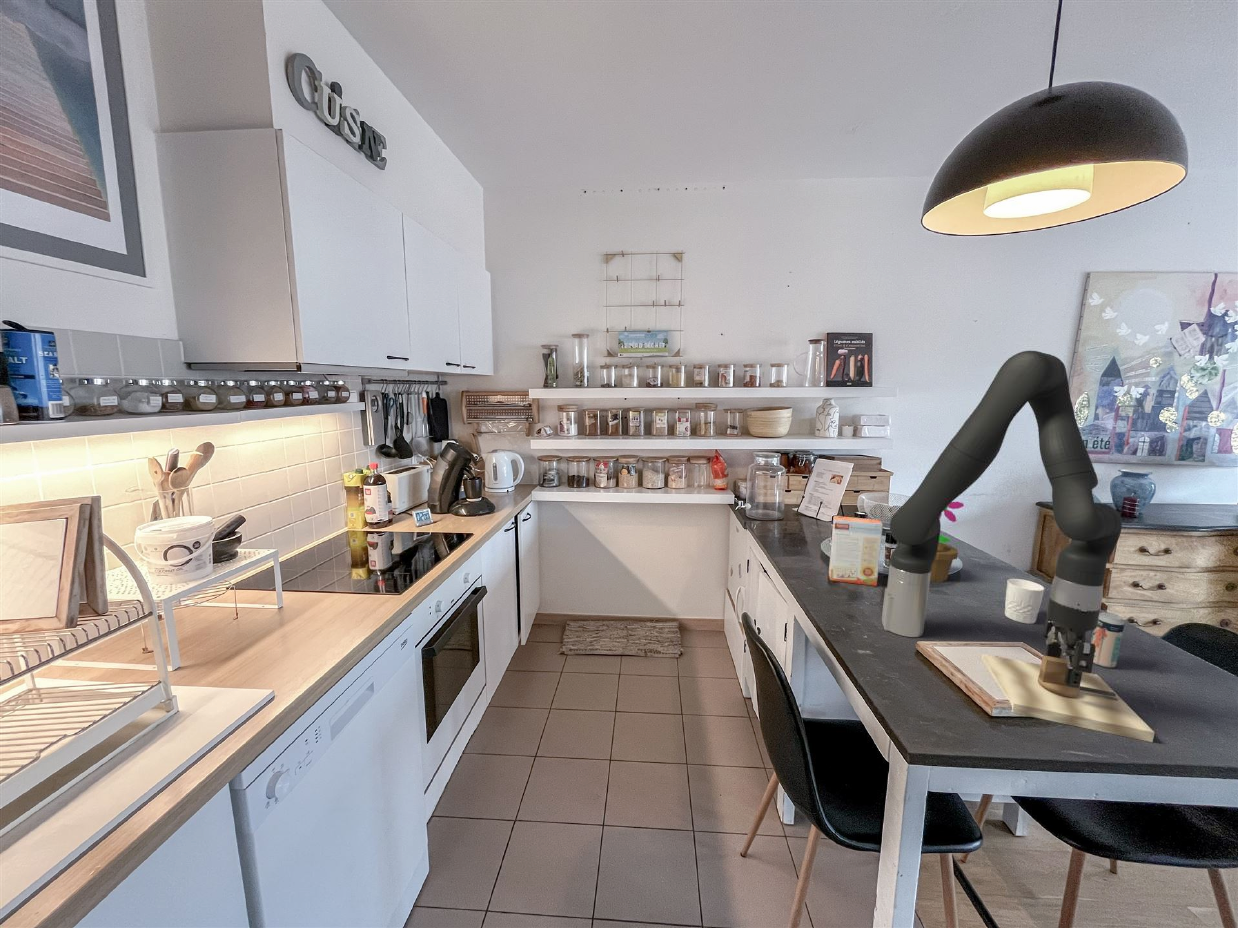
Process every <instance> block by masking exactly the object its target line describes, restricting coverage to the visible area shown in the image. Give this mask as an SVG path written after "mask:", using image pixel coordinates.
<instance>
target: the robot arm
mask: <svg viewBox="0 0 1238 928" xmlns="http://www.w3.org/2000/svg"><path fill="white" fill-rule="evenodd" d="M1027 403H1028V405H1029V406H1030V408H1031V409H1032V412H1033V415H1034V417H1035V419H1036V425H1037V431H1038V445H1039V454H1040V457H1041V462H1042V465H1043V467H1044V471H1045V474H1046V476H1047V480H1048V481H1049V484H1050V487H1051V499H1052V500H1051V502H1052V511H1053V512H1052V513H1053V517H1054V521H1055V523H1056V526H1057V527H1058V529H1059V530H1060V532H1061V533H1062V534H1063V535H1064V536H1065V537H1067V538H1069V539H1071V540H1070V543H1069V544H1068V546H1066V547H1065V548H1063V549H1061V551H1060V552H1059V554H1058V557H1057V559H1056V561H1057V562H1056V567H1055V572H1054V578H1053V580H1052V582H1051V585H1050V592H1049V597H1048V604H1047V609H1046V615H1045V621H1044V625H1043V631H1042V638H1043V639H1046V640H1045V644H1046V646H1047V647H1046V651H1045V656H1050V657H1056V658H1061V656H1063V657H1065V659H1066V661H1067V668H1066V674H1065V679H1064V683H1065V684H1066V685H1067V686H1070V687H1075V688H1078V687H1080V682H1081V677H1082V672H1084V673H1089V674H1092V672H1093V666H1094V663H1093V660H1094V653H1095V645H1094V644H1092V643H1091V642H1087V637H1086V633H1087V632H1090V631H1093V630H1094V629H1096V628H1097V624H1098V619H1099V613H1100V612H1101V609H1102V608H1101V606H1102V602H1103V596H1104V592H1103V591H1104V589H1103V588H1104V582H1105V577H1106V570H1107V563H1108V561H1109V559H1110V557H1111V556H1112V554H1113V552H1114V550H1115V548H1116V545H1117V543H1118V541H1119V538H1120V536H1121V534H1122V529H1123V525H1122V524H1123V522H1122V518H1121V515H1120V513H1119V512H1118V511H1117V509H1115V508H1114V507H1113V506H1111V505H1110V504H1109V505H1108V504H1107V503H1102V502H1095V500H1094V495H1093V490H1094V489H1095V488H1096V487H1097V486H1098V484H1099V479H1098V475H1097V473H1096V470H1095V467H1094V464H1093V462H1092V460H1091V458H1090V457H1091V456H1090V454H1089V453H1088V450H1087V447H1086V445H1085V443H1084V440H1083V438H1082V434H1081V432H1080V429H1079V425H1078V422H1077V419H1076V416H1075V411H1074V408H1073V403H1072V399H1071V394H1070V386H1069V380H1068V374H1067V369H1066V365H1065V364H1064V362H1063V360H1061V359H1060V358H1059V357H1058V356H1056V355H1052V354H1050V353H1044V352H1041V351H1038V350H1024V351H1021V352H1017V353H1016V354H1014V355H1011V356H1010V357H1009V358H1008V359H1007V360H1006V361H1005V362H1004V363H1003V364H1002V365H1001V367H1000V368H999V370H998V371H997V373H996V375H995V376H994V378H993V380H992V381H991V383H990V384H989V387H988V388H987V390H986V391H985V394H984V395H983V397H982V398H981V400H980V402H979V403H978V404H977V406H976V408H975V409H974V410H973V411H972V412H971V414H970V415H969V416H968V418H967V419H966V420H965V422H963V424H962V426H961V427H960V428H959V430H958V431H957V432H956V434H955V435H954V436H953V437H952V438H951V439H950V441H949V442H948V444H947V445H946V446H945V448H944V449H943V451H942V452H941V453H940V454H939V456H938V458H937V460H936V461H935V462H934V463H933V464H932V466H931V468H930V469H929V470H928V472H927V474H925V475H926V476H925V477H924V479H923V480H922V482H921V483H920V485H919V487H917V489H916V490H915V492H913V493H912V495H911V496H910V497H909V498H908V499H907V500H906V501H905V503H903V504H902V505H901V506H900V507H899V509H898V510H896V512H894V514H893V515H892V516H891V518H890V523H889V530H890V534H891V536H892V538H893V540H895V541H896V542H897V544H896V546H895V548H894V549H893V551H892V552H891V555H890V558H889V559H890V561H889V568H888V577H887V587H885V588H884V596H883V603H882V605H883V606H882V614H881V623H882V625H883V629H884V631H888V632H891V633H894V634H895V635H899V636H903V637H907V638H908V637H909V638H919V637H922V635H923V634H924V629H925V620H926V615H927V605H928V597H929V590H930V583H931V581H930V576H931V569H932V564H933V562H934V560H935V558H936V554H937V549H938V543H940V542H939V537H940V535H941V525H942V524H941V518H940V519H939V516H940V514H942V513H944V511H943V510H944V509H945V508H946V507H947V506H948V505H949V504H950V503H951V502H954V500H956V499H957V498H958V497H959V496H961V495H962V494H963V493H964V492H966V490H968V489H969V488H970V487H971V486H972V485H973V484H974V483H976V481H977V480H979V478H980V477H982V475H983V474H984V473H985V471H986V470H987V469H988V468H989V467H990V465H992V463H993V462H994V461H995V459H996V457H997V456H998V454H999V452H1000V450H1001V448H1002V445H1003V442H1004V440H1005V438H1006V434H1007V431H1008V429H1009V427H1010V425H1011V423H1012V421H1013V420H1014V418H1015V417H1016V416H1017V415H1018V413H1020V411H1022V409H1023V408H1024V407H1025V405H1026V404H1027ZM1072 660H1073V661H1072Z"/></svg>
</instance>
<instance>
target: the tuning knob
mask: <svg viewBox="0 0 1238 928" xmlns="http://www.w3.org/2000/svg"><path fill="white" fill-rule="evenodd" d="M1072 661H1073V659H1072ZM1040 663H1041V668H1040V674H1039V676H1038V683H1039V684H1040V685H1041V686H1042V687H1044V688H1045V689H1047V690H1049V691H1051V692H1053V693H1056V694H1059V695H1062V696H1067V697H1077V696H1078V695H1079V692H1080V690H1082V691H1087V692H1093V693H1098V694H1103V695H1108V696H1114V697H1115V696H1116V694H1117V693H1116V692H1115V691H1114V692H1115V693H1116V694H1115V693H1114V692H1108V691H1103V690H1098V689H1092V688H1087V687H1082V686H1080V687H1078V688H1075V687H1070V686H1067V685H1066V684H1065V683H1064V679H1065V674H1066V668H1067V661H1066V658H1061V657H1060V658H1056V657H1050V656H1046V655H1042V658H1041V662H1040ZM1082 673H1083V672H1082ZM1081 678H1082V677H1081ZM1080 683H1081V682H1080Z"/></svg>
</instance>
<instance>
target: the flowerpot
mask: <svg viewBox="0 0 1238 928" xmlns="http://www.w3.org/2000/svg"><path fill="white" fill-rule="evenodd" d="M964 504H965V503H963V502H961V501H952V502H951V503H950V504H949V505H948V506H947V507H946V508H945V509H944V510H943V513H944V514H943V515H944V516H945V517H946V518H947V520H948V521H950V522H952V523H955V522H956V521H957V518H956V517H957V516H956V515H955V514H954V513H953V512H952V510H955V509H961V508H963V507H965V505H964ZM948 508H949V509H948ZM950 509H951V510H950ZM943 515H942V513H941V514H940V516H939V519H940V520H941V517H942V516H943ZM949 542H951V540H950V539H949V538H947V537H945V536H943V535H941V534H940V537H939V543H938V549H937V554H936V558H935V560H934V562H933V564H932V569H931V576H930V582H937V583H940V582H941V583H942V582H945V581H947V580H948V577H949V573H950V570H951V567H952V563H953V561H954V560H957V559H958V555H959V554H958V553H959V550H958V549H957V548H955V547H953V546H952V545H950V544H945V543H949Z"/></svg>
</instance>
